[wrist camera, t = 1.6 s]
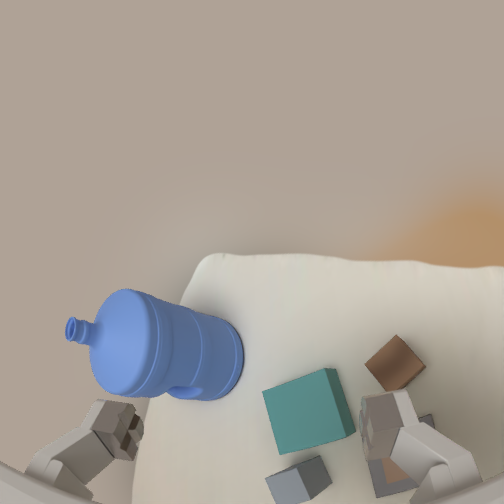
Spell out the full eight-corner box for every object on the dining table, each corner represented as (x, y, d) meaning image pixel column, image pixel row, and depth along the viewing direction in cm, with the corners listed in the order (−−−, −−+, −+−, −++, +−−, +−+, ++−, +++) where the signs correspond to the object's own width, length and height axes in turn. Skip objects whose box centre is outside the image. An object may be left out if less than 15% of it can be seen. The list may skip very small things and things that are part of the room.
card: (430, 413, 32) (430, 414, 32) (445, 476, 27) (445, 477, 26) (362, 437, 36) (361, 438, 36) (377, 496, 31) (376, 498, 30)
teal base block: (336, 369, 43) (324, 368, 39) (356, 431, 37) (346, 437, 34) (278, 391, 46) (262, 391, 43) (295, 448, 41) (279, 454, 37)
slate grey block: (319, 455, 38) (296, 468, 32) (332, 482, 35) (310, 499, 29) (291, 466, 40) (264, 478, 34) (303, 492, 37) (278, 508, 31)
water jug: (199, 306, 62) (73, 257, 40) (259, 338, 52) (115, 294, 30) (170, 374, 60) (41, 350, 38) (223, 416, 50) (74, 414, 28)
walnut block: (426, 366, 35) (423, 365, 29) (398, 391, 36) (389, 395, 30) (403, 341, 39) (396, 334, 33) (377, 365, 39) (364, 364, 33)
